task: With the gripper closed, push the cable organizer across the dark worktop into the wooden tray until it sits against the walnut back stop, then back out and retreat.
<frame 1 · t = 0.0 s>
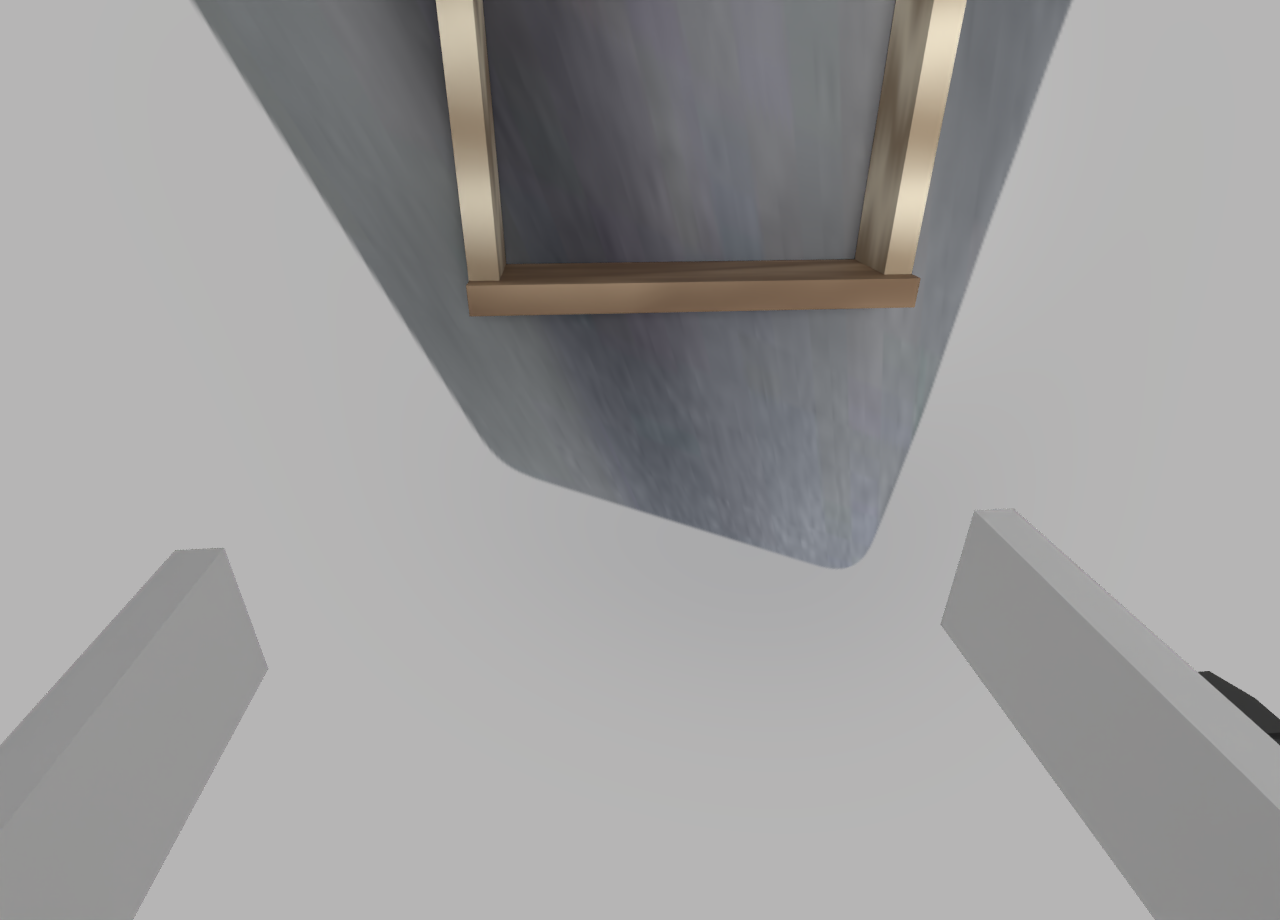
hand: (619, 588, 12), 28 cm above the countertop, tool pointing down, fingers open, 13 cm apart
wooden tray: (689, 122, 33), on the countertop
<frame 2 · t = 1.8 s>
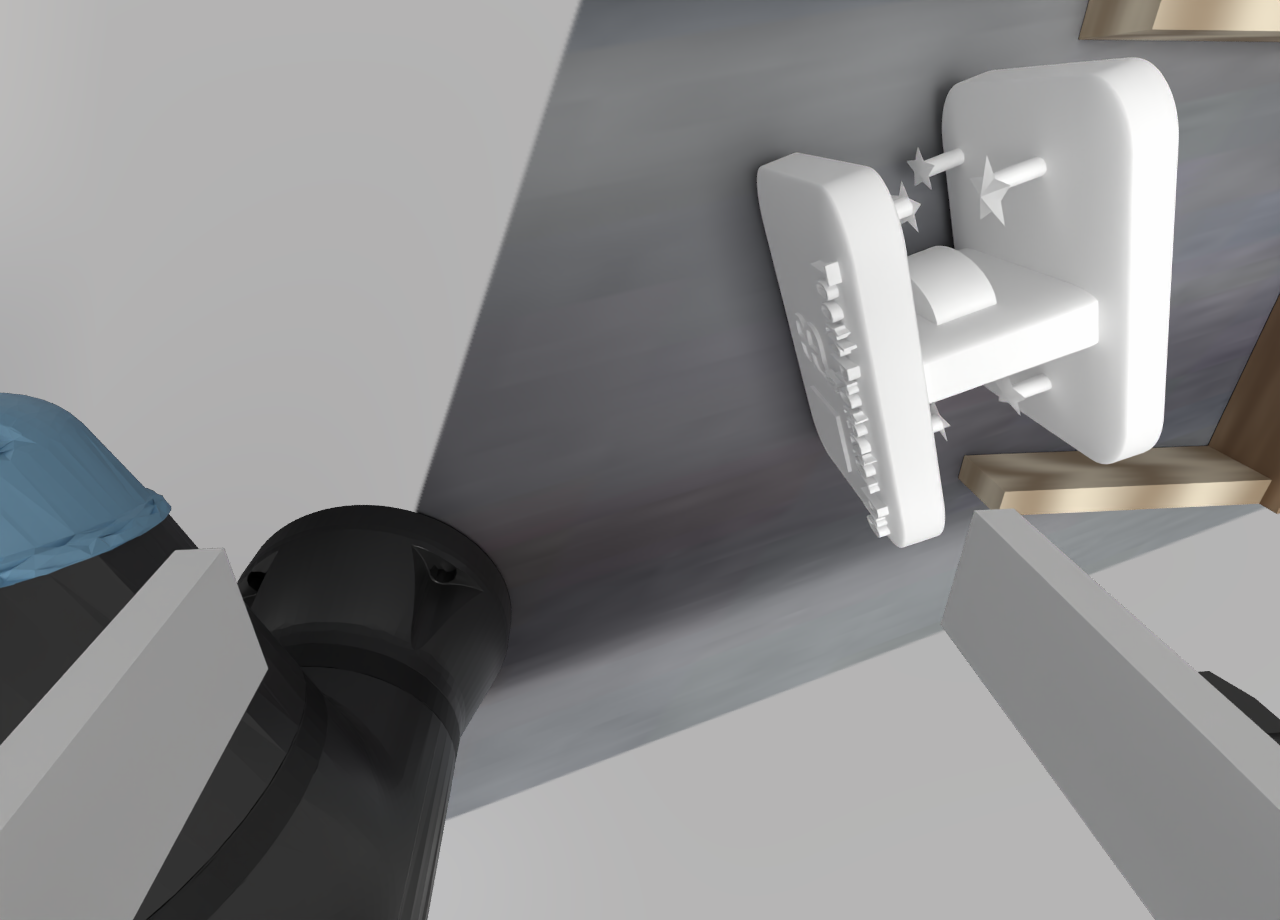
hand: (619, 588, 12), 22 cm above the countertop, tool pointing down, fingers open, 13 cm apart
wooden tray: (1163, 275, 33), on the countertop
cable organizer: (874, 279, 32), on the countertop
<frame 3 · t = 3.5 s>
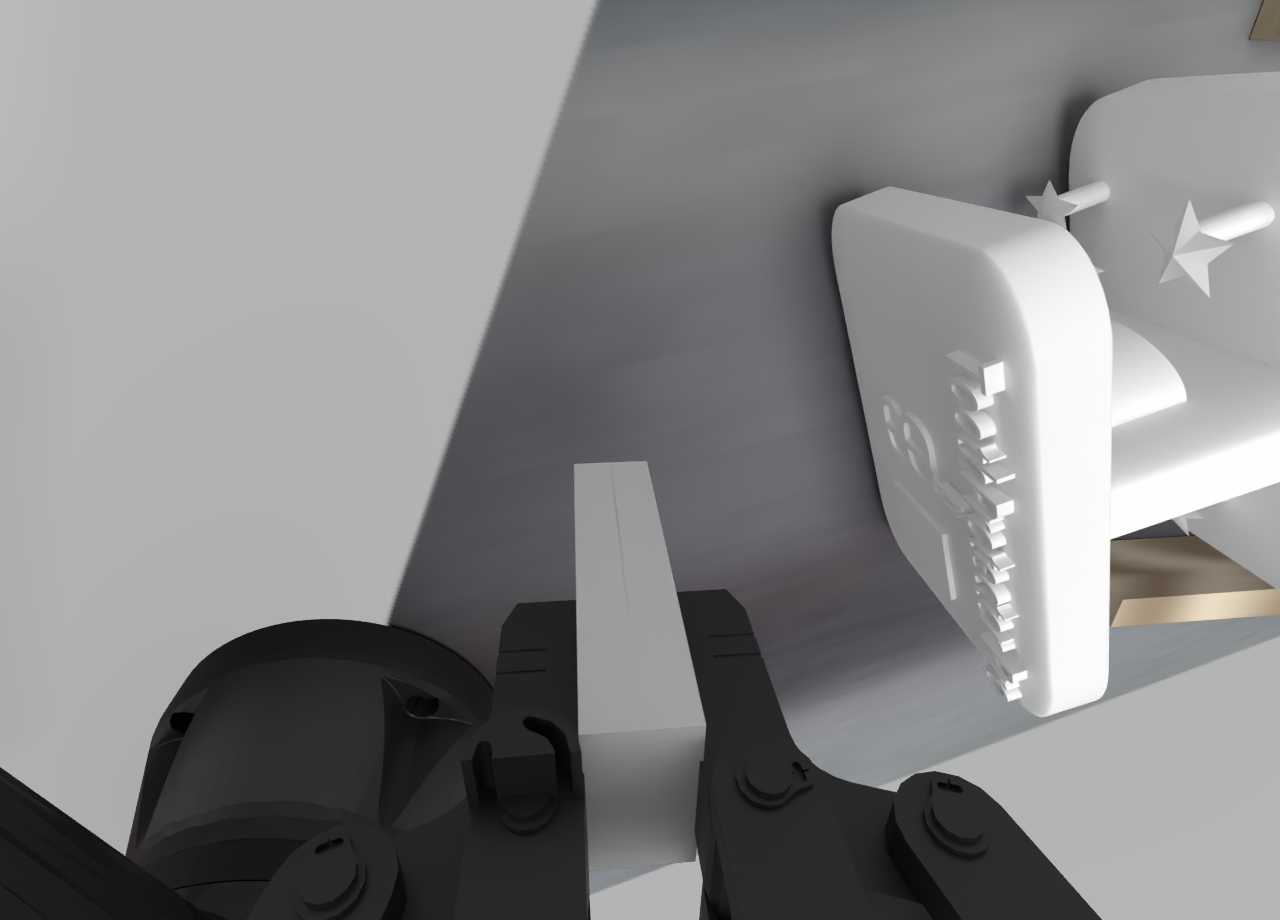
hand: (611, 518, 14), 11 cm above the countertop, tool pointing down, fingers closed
cable organizer: (966, 340, 25), on the countertop
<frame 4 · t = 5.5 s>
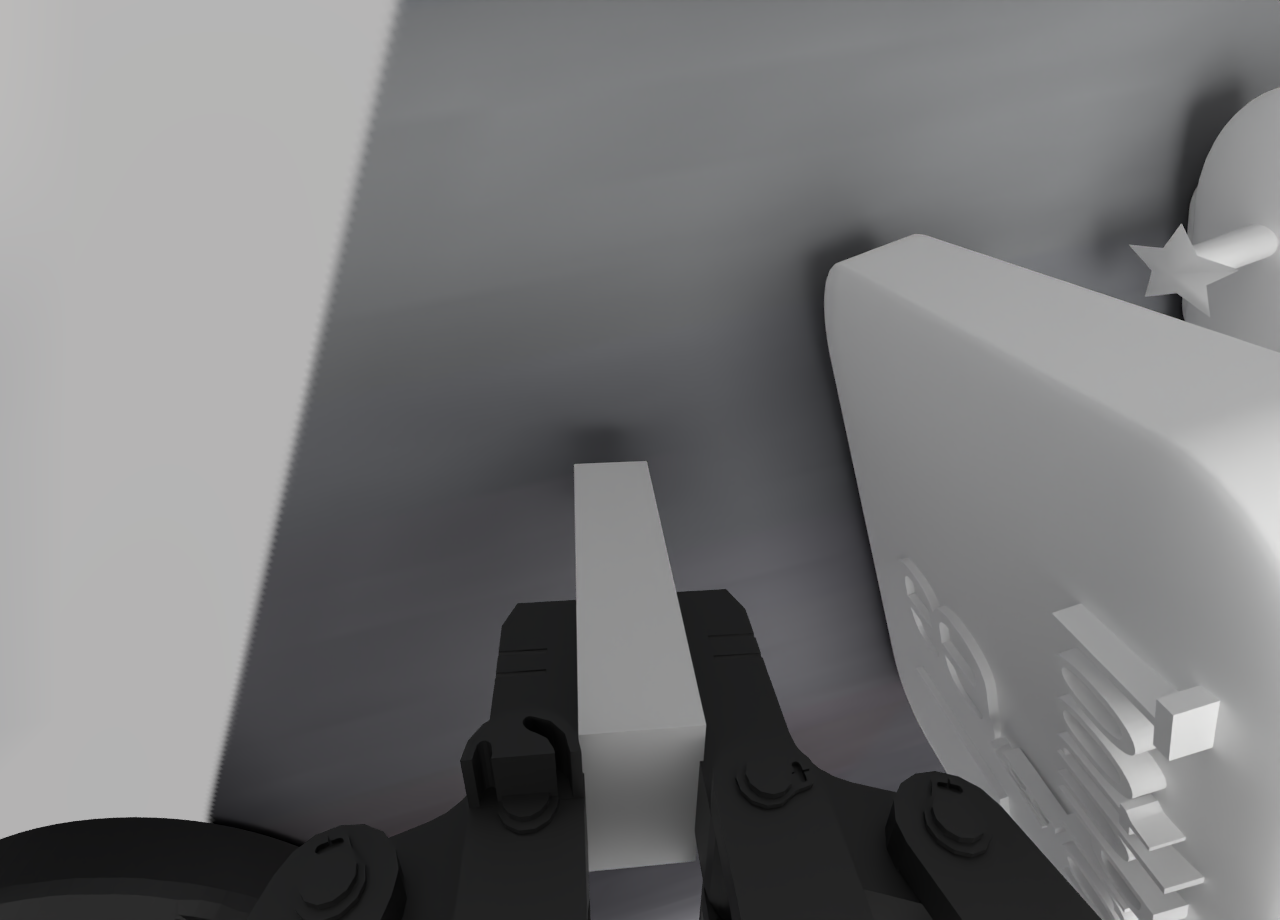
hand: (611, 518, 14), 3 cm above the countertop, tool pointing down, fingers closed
cable organizer: (1019, 443, 17), on the countertop
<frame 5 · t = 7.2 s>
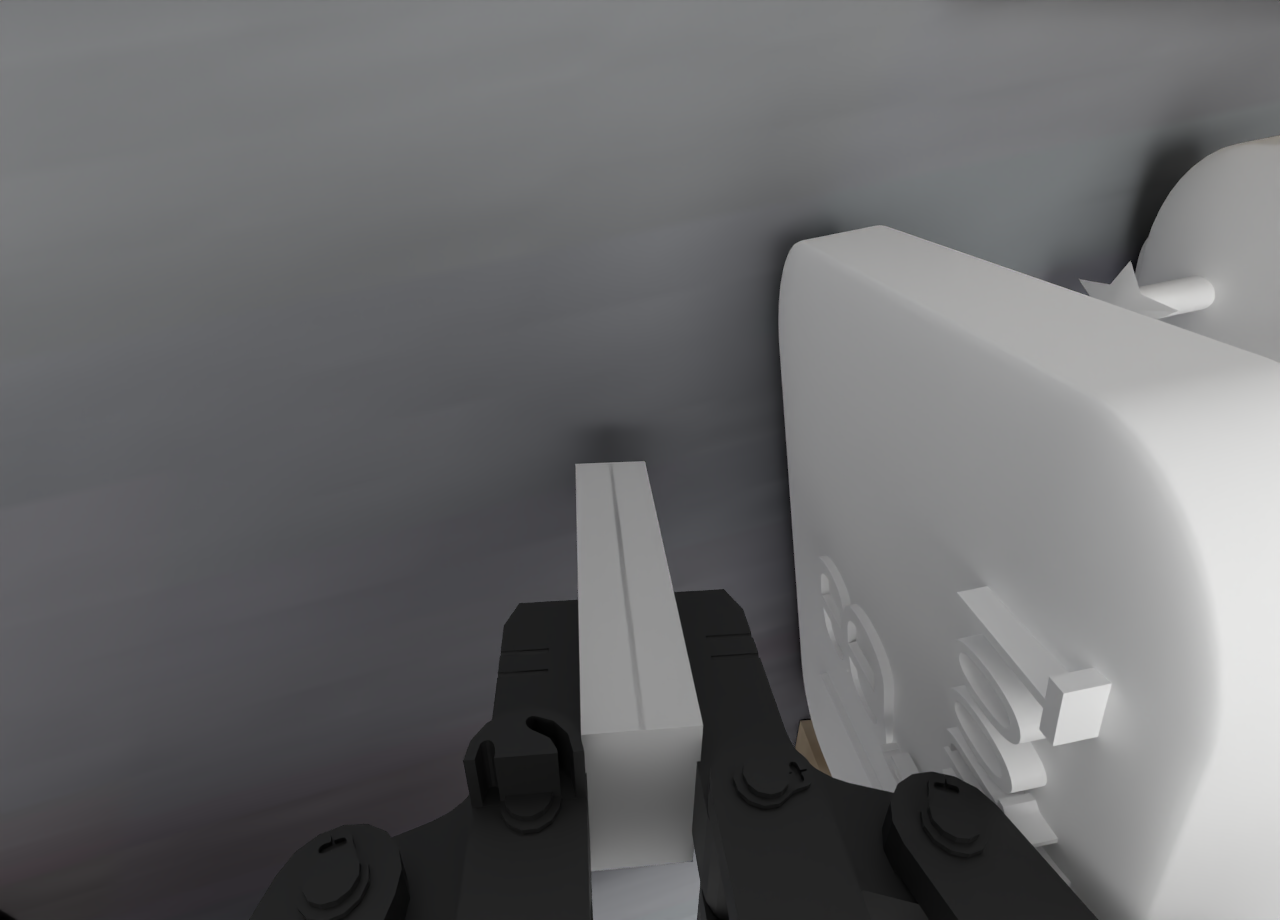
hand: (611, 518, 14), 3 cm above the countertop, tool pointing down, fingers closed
wooden tray: (1132, 442, 18), on the countertop
cable organizer: (951, 467, 18), on the countertop, touching hand
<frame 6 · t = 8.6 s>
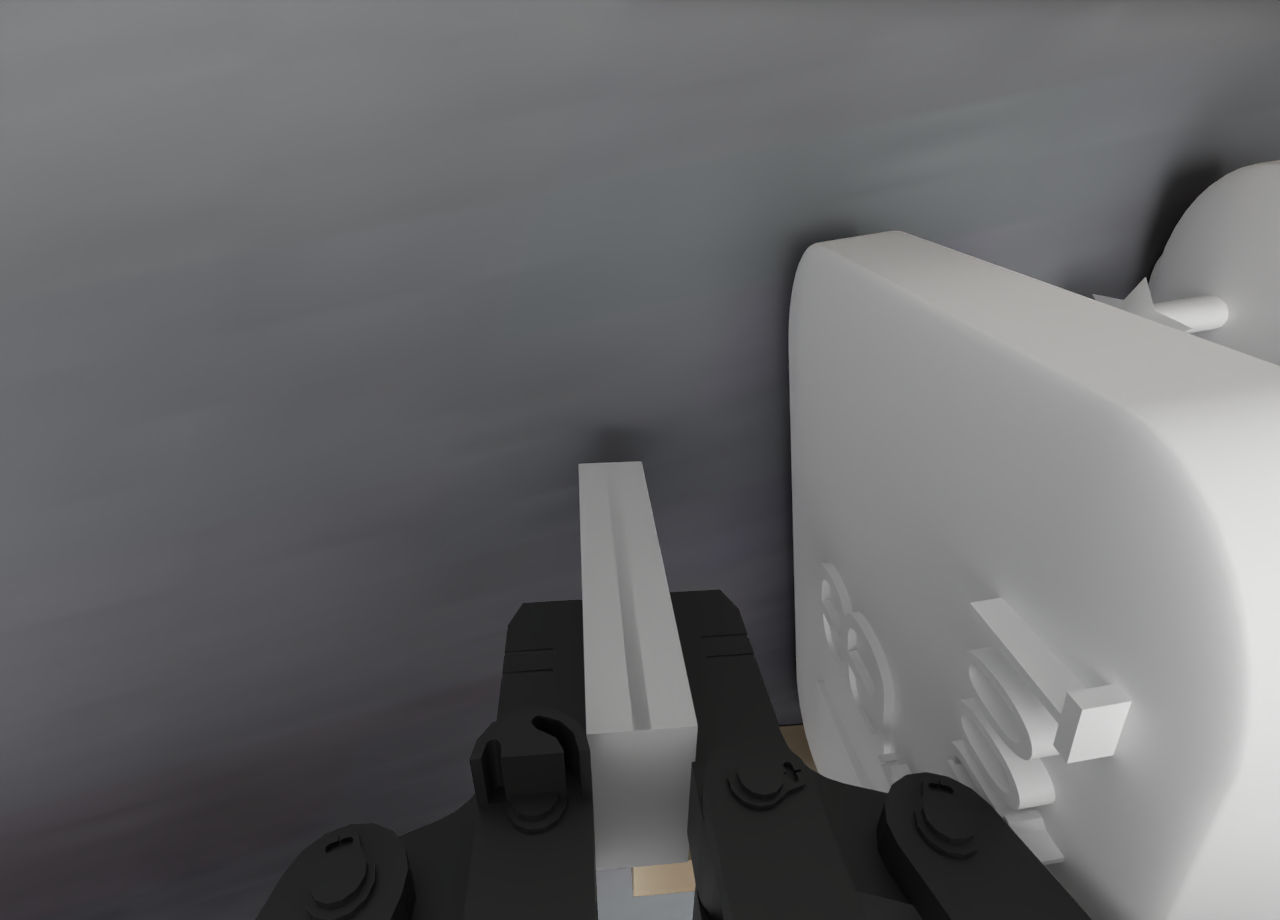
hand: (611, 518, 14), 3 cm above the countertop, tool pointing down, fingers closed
wooden tray: (930, 453, 17), on the countertop
cable organizer: (954, 478, 17), on the countertop, touching wooden tray, hand
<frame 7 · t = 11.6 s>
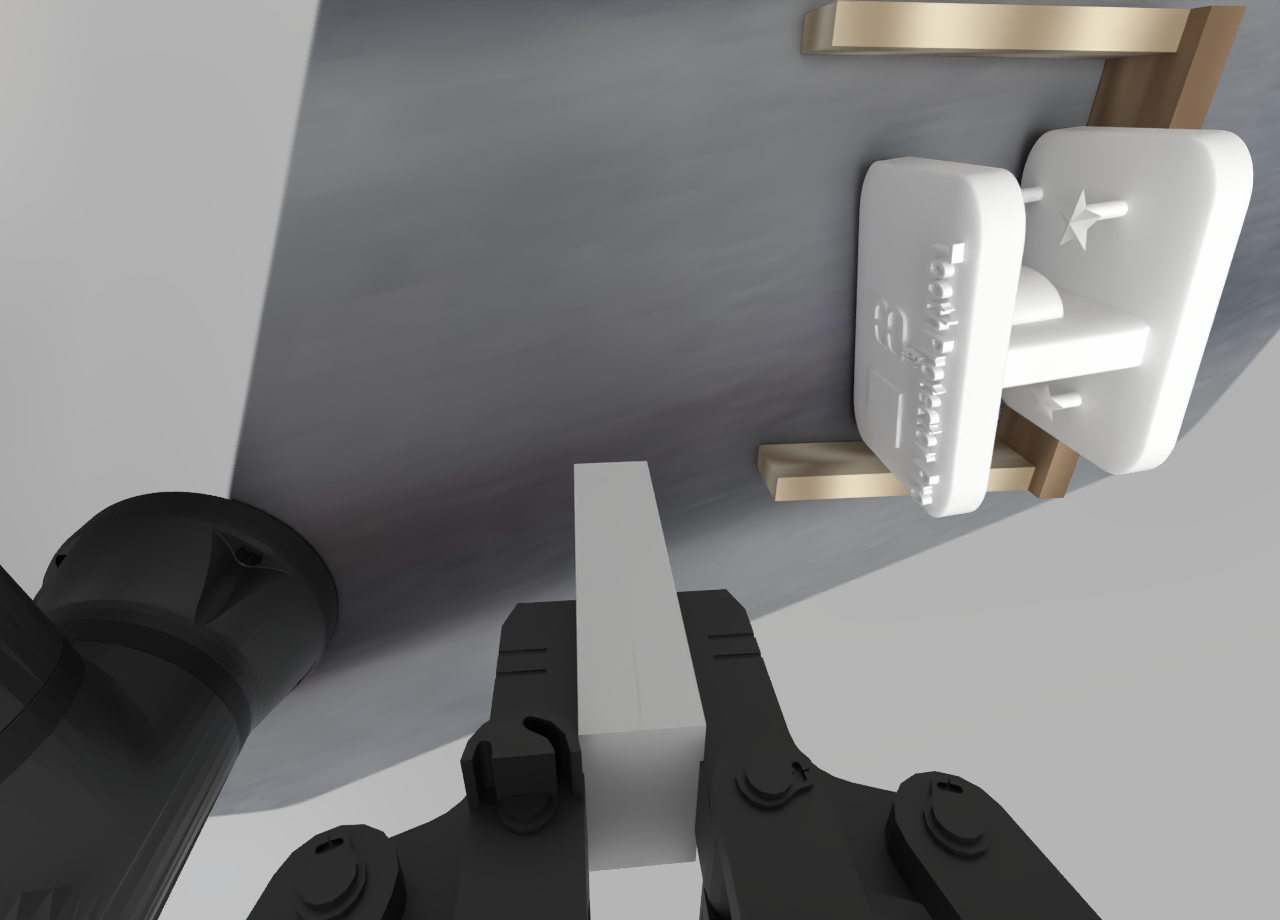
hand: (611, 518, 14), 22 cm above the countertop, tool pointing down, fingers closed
wooden tray: (921, 274, 35), on the countertop
cable organizer: (933, 290, 36), on the countertop
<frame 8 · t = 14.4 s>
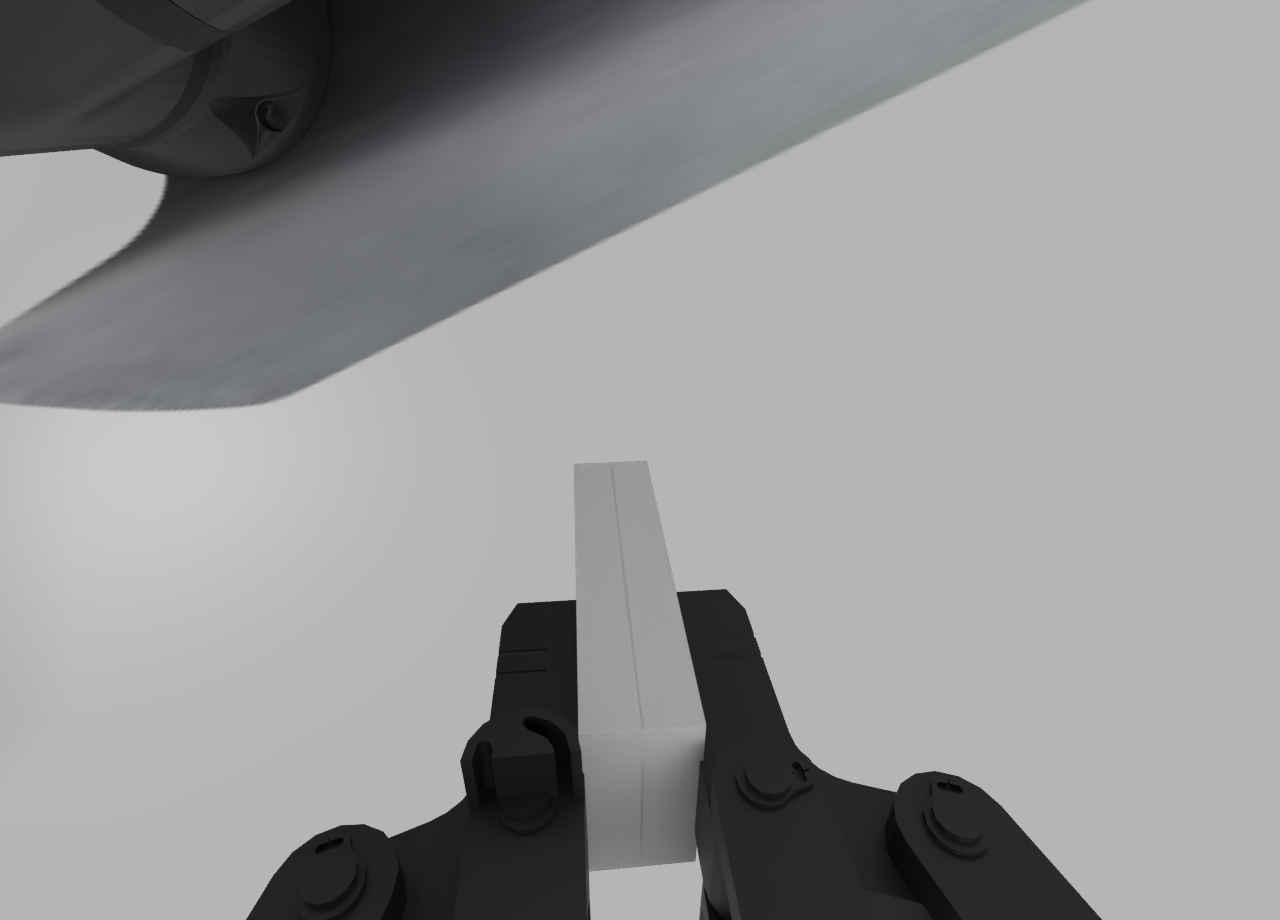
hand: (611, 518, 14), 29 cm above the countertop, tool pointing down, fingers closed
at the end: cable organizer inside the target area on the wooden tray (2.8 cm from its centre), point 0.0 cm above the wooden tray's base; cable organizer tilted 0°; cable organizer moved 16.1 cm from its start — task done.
